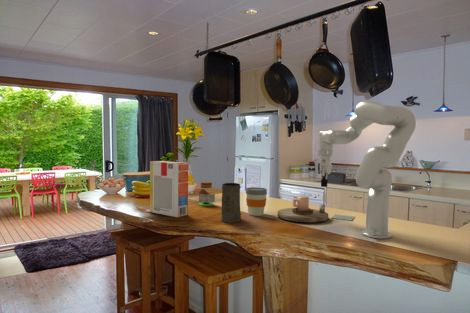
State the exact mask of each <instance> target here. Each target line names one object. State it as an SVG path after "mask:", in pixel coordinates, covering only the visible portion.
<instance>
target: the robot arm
mask: <svg viewBox="0 0 470 313" xmlns="http://www.w3.org/2000/svg"><path fill="white" fill-rule="evenodd" d="M373 124H376V125H382V126H391V127H392V126H394V127H393V129H392V130H391V131H390V132H389V133H388V135H387V137H386V138H385V140H384V142H383V144H382V145H381V146H379V145H378V146H372V147H371V148H369V149H368V150H367V151H366V152H365V154H364V155H363V158H362V161H361V163H360V165H359V166H358V169H357V172H356V175H355V182H356V184H357V186H358V187H359V188H361V189H364V190H368V191H367V194H366V209H365V211H366V212H365V214H366V215H365V229H363V230H361V234H362V236H364V237H368V238H372V239H378V240H379V239H380V240H381V239H383V240H385V239H387V240H388V239H390V238H392V233H390V232H389V215H390V214H389V210H390V208H389V207H390V194H391V193H390V192H391V189H392V188H391V187H392V182H393V175H392V172H390V170H388V169H389V168H394V167H395V166H396V165H397V164H398V162H399V161H400V159H401V157H402V155H403V153H404V151H405V148H406V147H407V144H408V143H409V141H410V139H411V137H412V136H413V133H414V132H415V130H416V129H415V128H416V124H417V123H416V116H415V115H414V112H413V111H411V109H409V108H407V107H404V106H396V105H387V104H382V103H381V102H378V101H373V100H372V101H371V100H362V101H360V102H359V103H357V104H356V106H355V108H354V114H353V115H352V116H350V118H349V125H350V127H348V128H347V129H342V130H341V129H331V130H320V131H319V132H318V146H317V147H318V151H317V153H318V156H319V174H320V175H321V177H320V178H321V180H320V186H321V187H324V188H327V187H328V181H329V180H328V175H330V174H332V173H331V172H332V169H331V166H332V164H331V162H332V161H331V159H332V157H333V151H334V150H333V146H334V145H348V144H351V143H352V142H353V141H355V140H357V139H358V138H359V137H360V136H361V134H362V132H363V131H364V130H365V129H367V127H369V126H371V125H373ZM387 168H388V169H387Z"/></svg>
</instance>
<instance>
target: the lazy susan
mask: <svg viewBox="0 0 470 313" xmlns="http://www.w3.org/2000/svg"><path fill="white" fill-rule="evenodd" d="M277 217H278V218H280V219H282V220H287V221H291V222H297V223H298V222H299V223H319V222H320V223H321V222H325V221H327V220H329V213H328V212H326V205H325V203H324V204H323V203H321V204H319V209H314V208H309V211H300V210H297V207H288V208H281V209H278V210H277Z"/></svg>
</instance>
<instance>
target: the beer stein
mask: <svg viewBox="0 0 470 313" xmlns="http://www.w3.org/2000/svg"><path fill="white" fill-rule="evenodd" d="M241 187H242V186H241V184H240V183H238V182H237V183H236V182H225V183H222V184H221V191H222V192H221V217H220V218H221V219H220V221H222V222H223V223H226V224H228V223H229V224H232V223H239V222H240V221H242V215H241V214H242V213H241Z"/></svg>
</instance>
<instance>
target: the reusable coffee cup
mask: <svg viewBox="0 0 470 313" xmlns="http://www.w3.org/2000/svg"><path fill="white" fill-rule="evenodd" d="M267 191H268V189H267V188H265V187H258V186H257V187H253V186H252V187H246V188H245V195H246V198H245V202H246V206H247V214H248V215H250V216H254V217H255V216H256V217H258V216H263V215H264V213H265V207H266V204H267V194H268V192H267Z"/></svg>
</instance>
